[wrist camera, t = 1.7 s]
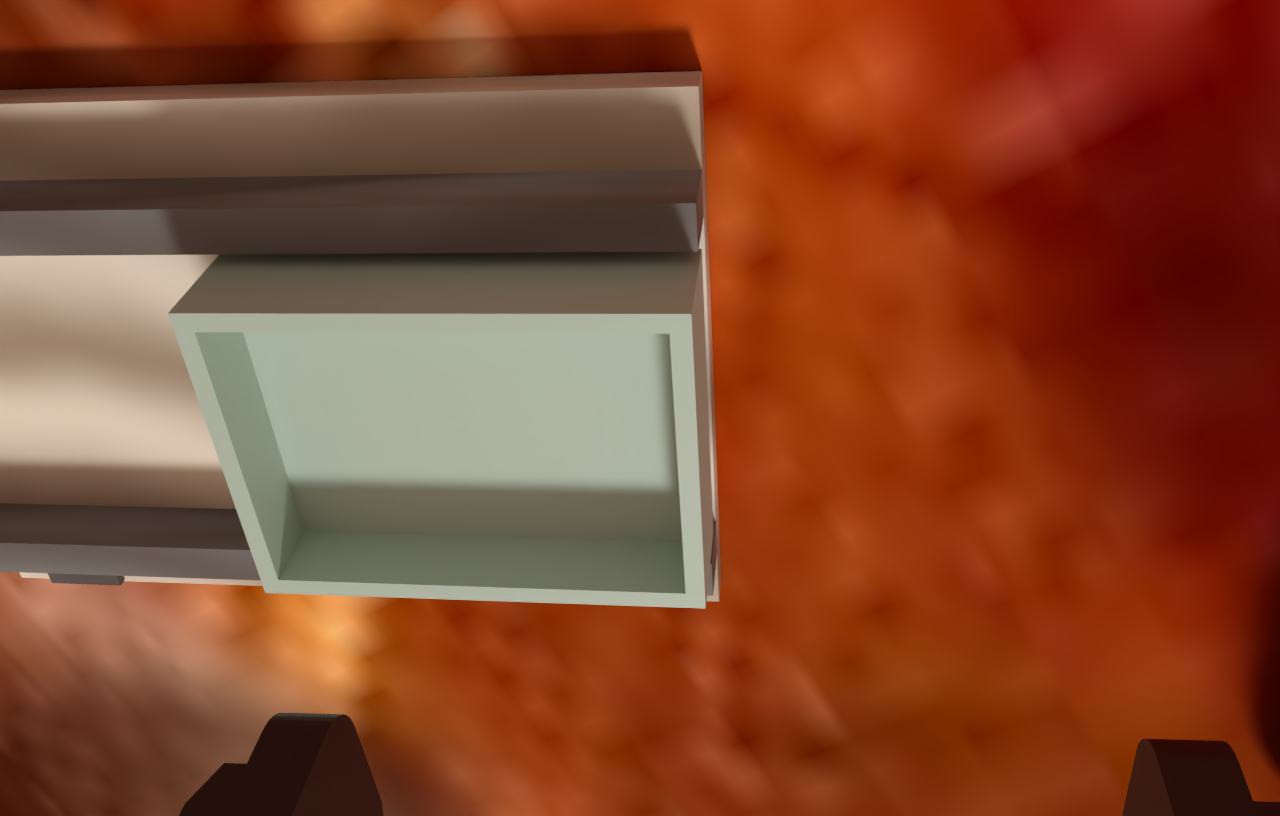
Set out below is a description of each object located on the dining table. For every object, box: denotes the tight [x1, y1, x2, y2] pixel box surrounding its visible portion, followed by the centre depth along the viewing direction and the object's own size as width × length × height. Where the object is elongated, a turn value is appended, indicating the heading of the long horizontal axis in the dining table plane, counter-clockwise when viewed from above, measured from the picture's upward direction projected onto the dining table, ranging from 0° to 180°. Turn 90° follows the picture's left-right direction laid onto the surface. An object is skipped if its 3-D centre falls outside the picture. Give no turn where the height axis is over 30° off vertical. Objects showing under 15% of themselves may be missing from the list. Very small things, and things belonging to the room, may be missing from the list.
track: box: [0, 71, 721, 601], centre depth 32 cm, size 16×23×3 cm
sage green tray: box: [168, 249, 713, 608], centre depth 30 cm, size 9×12×4 cm
